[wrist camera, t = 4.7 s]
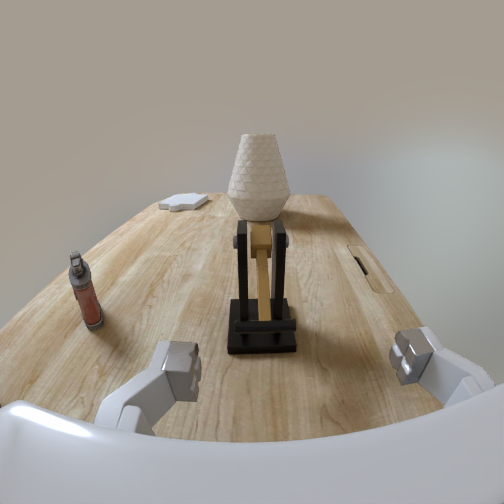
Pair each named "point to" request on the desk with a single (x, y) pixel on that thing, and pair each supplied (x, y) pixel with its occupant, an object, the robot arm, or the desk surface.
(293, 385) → the desk surface
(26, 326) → the desk surface
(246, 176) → the vase
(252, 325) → the switch lever
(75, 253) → the lighter
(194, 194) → the mounting plate
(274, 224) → the switch bracket
